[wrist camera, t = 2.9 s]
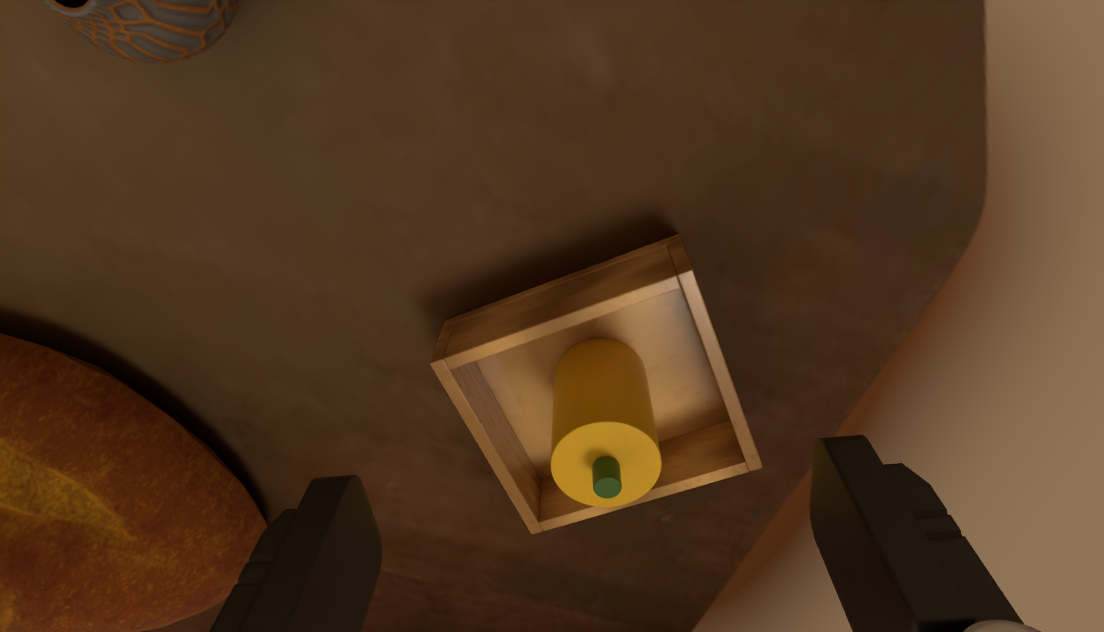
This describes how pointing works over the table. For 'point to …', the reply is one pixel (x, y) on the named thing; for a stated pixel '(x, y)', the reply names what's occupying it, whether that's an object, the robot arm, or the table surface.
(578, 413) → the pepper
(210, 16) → the vase
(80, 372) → the bread
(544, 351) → the tray
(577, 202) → the table surface
